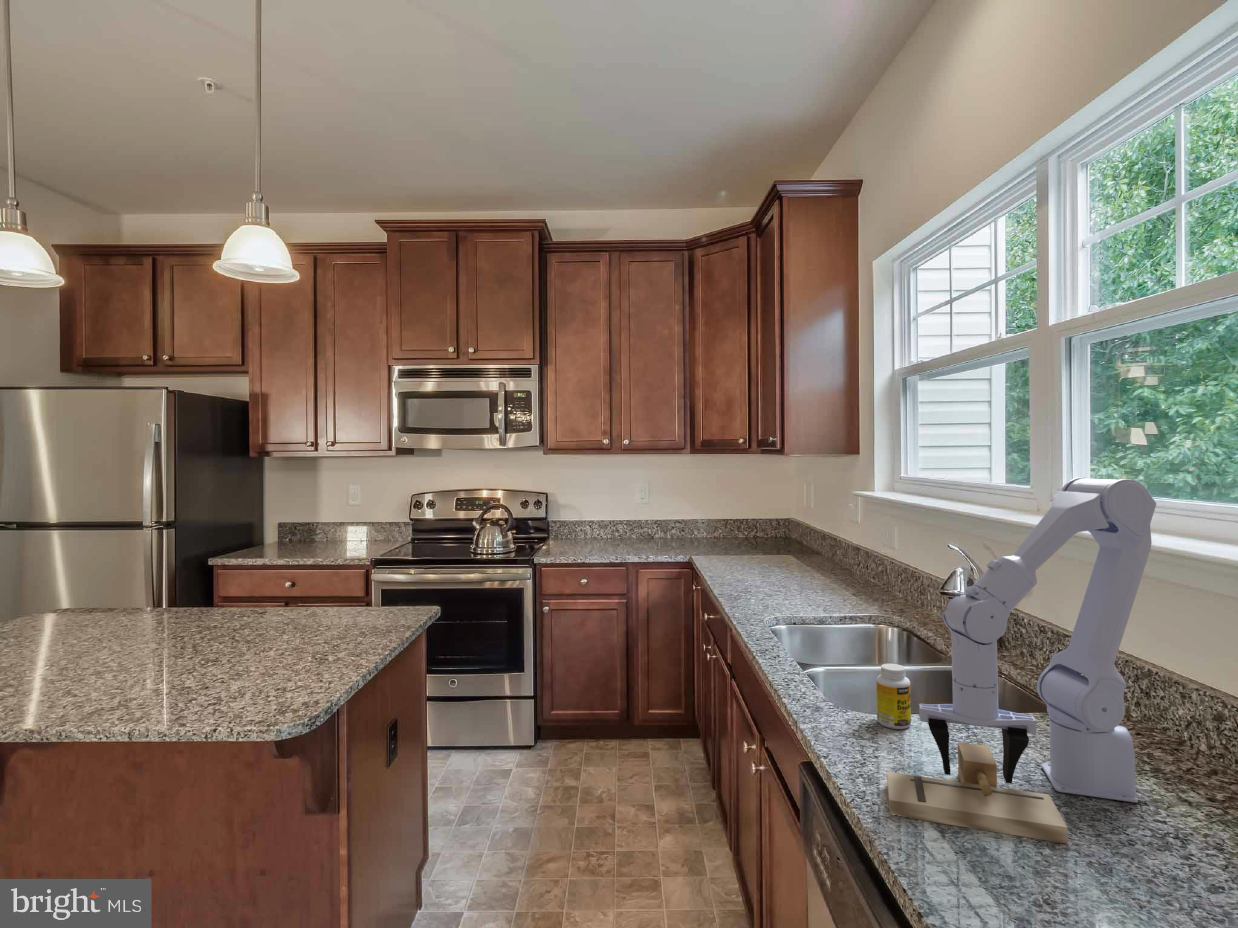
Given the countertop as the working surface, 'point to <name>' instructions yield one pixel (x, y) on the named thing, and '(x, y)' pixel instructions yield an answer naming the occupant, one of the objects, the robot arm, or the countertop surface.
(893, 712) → the supplement bottle
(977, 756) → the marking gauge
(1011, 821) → the maple board
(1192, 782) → the countertop surface
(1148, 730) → the countertop surface
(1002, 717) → the robot arm
